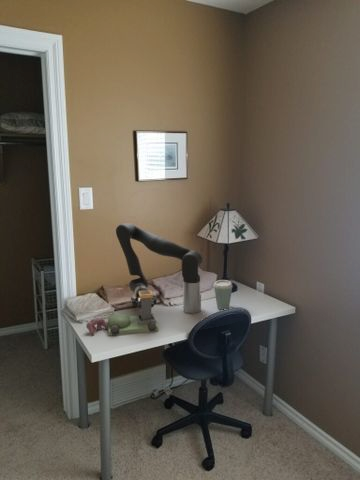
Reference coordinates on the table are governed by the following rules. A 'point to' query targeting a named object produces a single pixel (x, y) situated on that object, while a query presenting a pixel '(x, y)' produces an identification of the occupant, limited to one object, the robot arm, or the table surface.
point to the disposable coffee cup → (223, 293)
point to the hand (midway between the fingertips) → (146, 306)
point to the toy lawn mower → (130, 324)
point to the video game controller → (99, 322)
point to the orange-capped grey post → (145, 305)
